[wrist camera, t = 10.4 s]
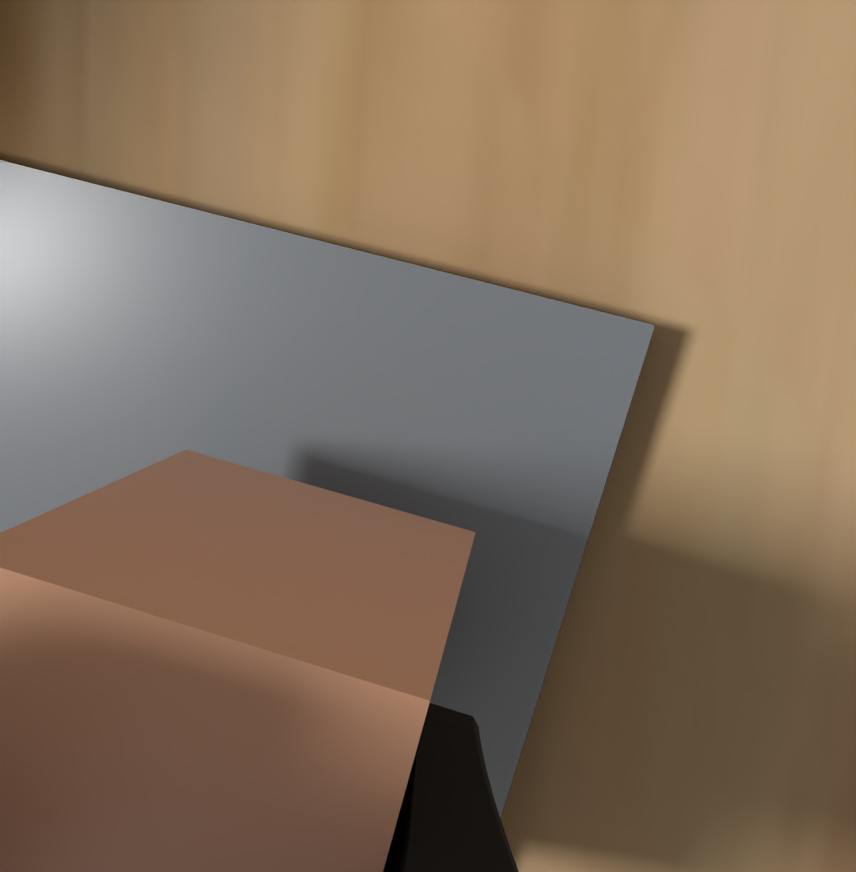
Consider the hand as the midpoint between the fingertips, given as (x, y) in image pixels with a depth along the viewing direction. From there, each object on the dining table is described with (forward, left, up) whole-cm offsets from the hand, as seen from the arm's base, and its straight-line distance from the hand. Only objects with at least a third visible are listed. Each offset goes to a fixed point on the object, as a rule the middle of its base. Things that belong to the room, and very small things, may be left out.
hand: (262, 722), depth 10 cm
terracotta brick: (0, 0, -1) cm, 1 cm away
